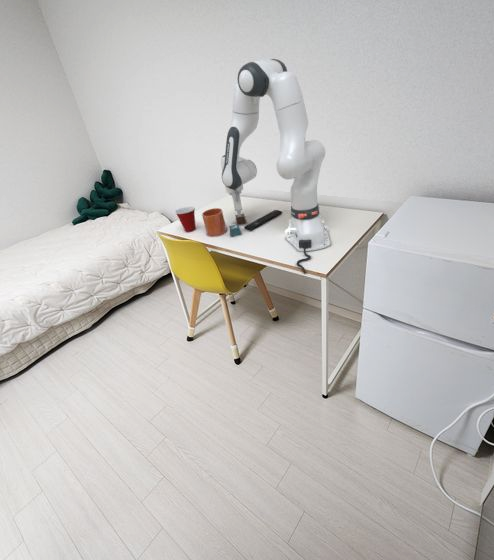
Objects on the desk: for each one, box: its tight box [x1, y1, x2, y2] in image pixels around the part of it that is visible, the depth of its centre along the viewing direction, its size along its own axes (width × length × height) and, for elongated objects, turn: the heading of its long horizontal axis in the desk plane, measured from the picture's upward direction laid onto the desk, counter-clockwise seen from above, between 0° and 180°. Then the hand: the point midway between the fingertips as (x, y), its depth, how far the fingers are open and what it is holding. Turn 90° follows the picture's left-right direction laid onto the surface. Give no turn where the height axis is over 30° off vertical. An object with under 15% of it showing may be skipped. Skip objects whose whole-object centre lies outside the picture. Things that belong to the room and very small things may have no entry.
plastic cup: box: [174, 206, 197, 233], centre depth 166 cm, size 11×11×12 cm
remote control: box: [243, 209, 283, 231], centre depth 162 cm, size 5×24×1 cm, turn 133°
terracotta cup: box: [201, 207, 227, 238], centre depth 158 cm, size 10×10×11 cm
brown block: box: [235, 213, 247, 226], centre depth 165 cm, size 5×5×4 cm
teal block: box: [228, 223, 241, 238], centre depth 154 cm, size 5×5×4 cm
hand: (238, 212), depth 163 cm, fingers open, 8 cm apart
